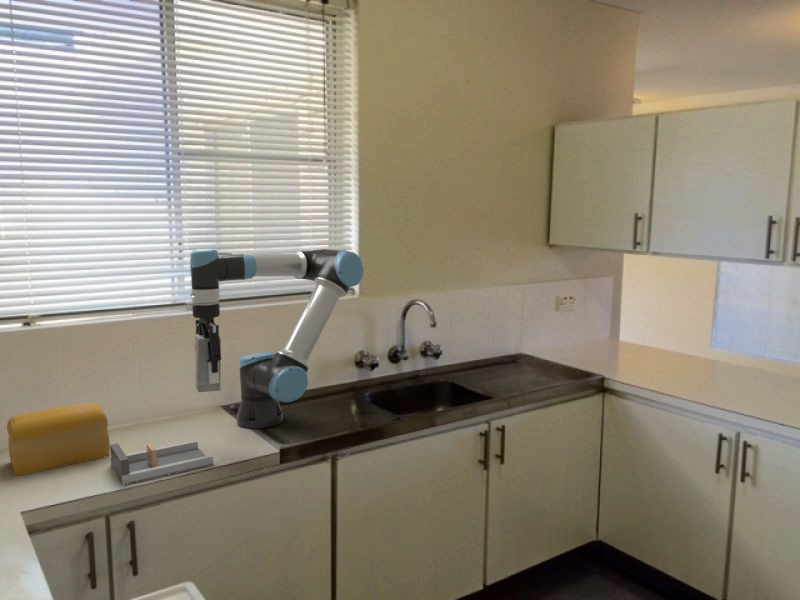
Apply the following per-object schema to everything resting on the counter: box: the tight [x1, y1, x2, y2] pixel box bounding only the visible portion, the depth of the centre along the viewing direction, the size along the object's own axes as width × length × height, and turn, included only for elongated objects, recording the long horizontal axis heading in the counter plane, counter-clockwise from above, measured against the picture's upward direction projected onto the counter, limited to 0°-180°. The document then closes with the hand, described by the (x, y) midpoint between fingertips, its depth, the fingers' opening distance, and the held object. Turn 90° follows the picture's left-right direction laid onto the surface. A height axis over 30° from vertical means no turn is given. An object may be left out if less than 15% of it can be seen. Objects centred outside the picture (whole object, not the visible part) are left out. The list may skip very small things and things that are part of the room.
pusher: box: [146, 442, 157, 467], centre depth 185 cm, size 1×6×5 cm, turn 33°
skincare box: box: [195, 333, 222, 393], centre depth 194 cm, size 8×7×16 cm
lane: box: [110, 439, 215, 485], centre depth 187 cm, size 24×16×6 cm, turn 124°
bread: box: [6, 402, 111, 476], centre depth 192 cm, size 24×13×15 cm, turn 126°
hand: (208, 379), depth 194 cm, fingers closed on skincare box, 9 cm apart
